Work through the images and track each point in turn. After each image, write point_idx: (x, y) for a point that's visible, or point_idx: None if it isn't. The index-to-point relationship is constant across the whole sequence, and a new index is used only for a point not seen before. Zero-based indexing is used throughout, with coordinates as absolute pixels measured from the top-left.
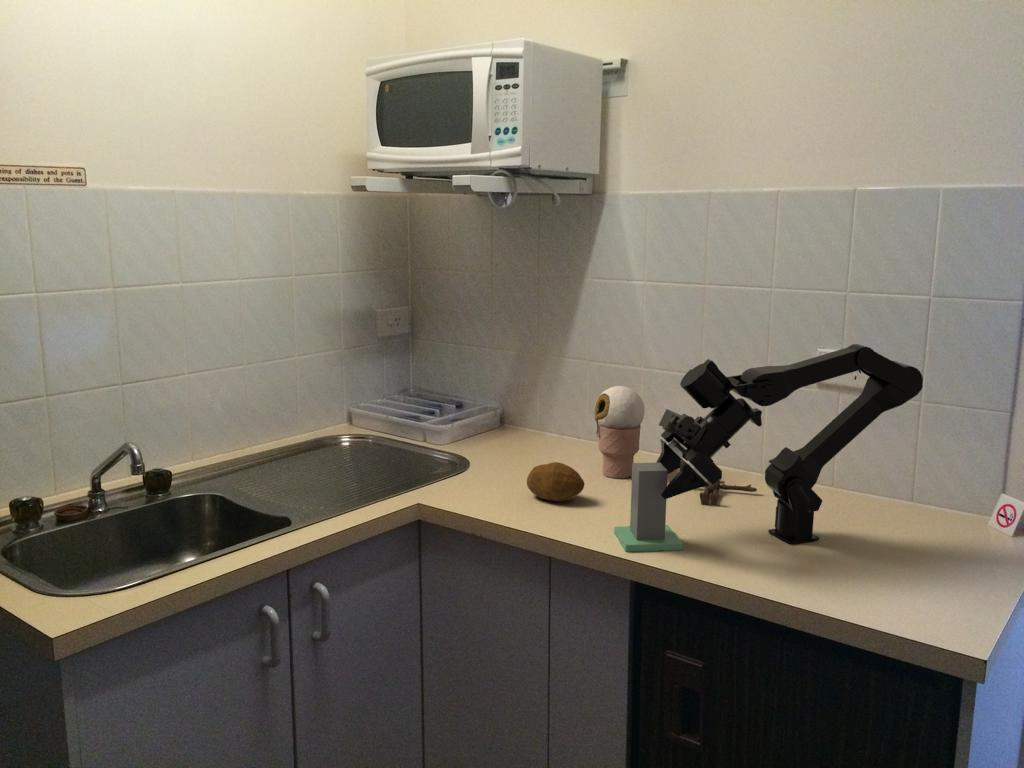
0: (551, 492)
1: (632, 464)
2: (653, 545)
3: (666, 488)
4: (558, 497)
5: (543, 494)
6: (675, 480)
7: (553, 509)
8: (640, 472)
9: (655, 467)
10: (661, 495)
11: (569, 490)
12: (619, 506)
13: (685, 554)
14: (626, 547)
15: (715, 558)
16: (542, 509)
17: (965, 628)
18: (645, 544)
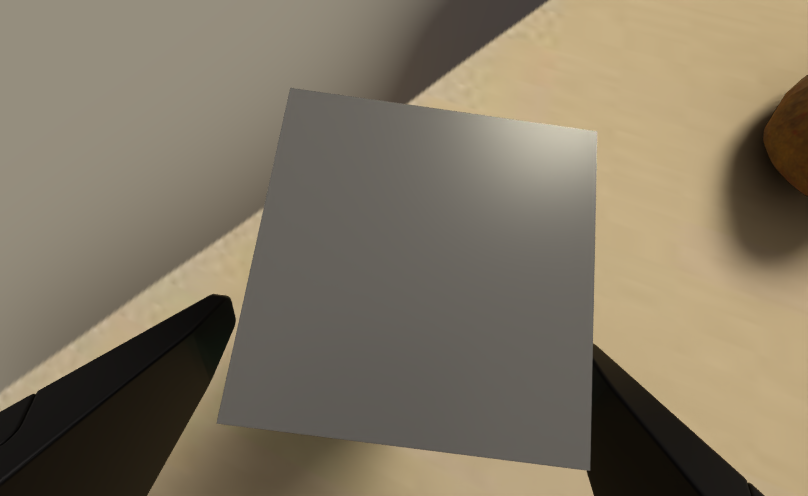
0: (793, 93)
1: (581, 137)
2: None
3: (169, 327)
4: (770, 123)
5: (796, 84)
6: (12, 409)
7: (706, 116)
8: (293, 111)
9: (385, 319)
10: (221, 295)
11: (799, 143)
12: (729, 327)
13: None
14: None
15: (204, 465)
16: (707, 87)
17: None
18: None
